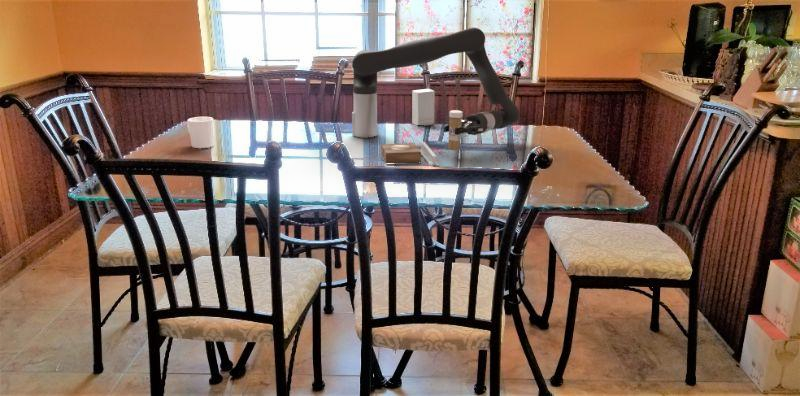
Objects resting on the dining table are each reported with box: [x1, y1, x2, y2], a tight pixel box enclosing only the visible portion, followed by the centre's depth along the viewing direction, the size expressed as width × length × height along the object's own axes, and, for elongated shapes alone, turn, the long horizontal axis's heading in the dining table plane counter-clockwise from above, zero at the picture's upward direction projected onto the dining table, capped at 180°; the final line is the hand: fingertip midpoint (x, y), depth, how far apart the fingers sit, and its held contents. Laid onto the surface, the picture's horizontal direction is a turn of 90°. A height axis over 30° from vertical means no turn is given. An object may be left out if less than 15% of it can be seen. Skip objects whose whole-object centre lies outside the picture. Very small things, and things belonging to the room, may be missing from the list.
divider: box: [419, 141, 440, 167], centre depth 223 cm, size 20×3×4 cm, turn 10°
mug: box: [186, 116, 215, 149], centre depth 235 cm, size 11×9×10 cm
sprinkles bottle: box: [447, 109, 464, 151], centre depth 222 cm, size 5×5×13 cm
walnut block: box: [380, 142, 422, 165], centre depth 221 cm, size 12×12×4 cm
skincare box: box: [411, 88, 436, 126], centre depth 272 cm, size 8×6×15 cm
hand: (450, 130), depth 220 cm, fingers closed on sprinkles bottle, 4 cm apart
